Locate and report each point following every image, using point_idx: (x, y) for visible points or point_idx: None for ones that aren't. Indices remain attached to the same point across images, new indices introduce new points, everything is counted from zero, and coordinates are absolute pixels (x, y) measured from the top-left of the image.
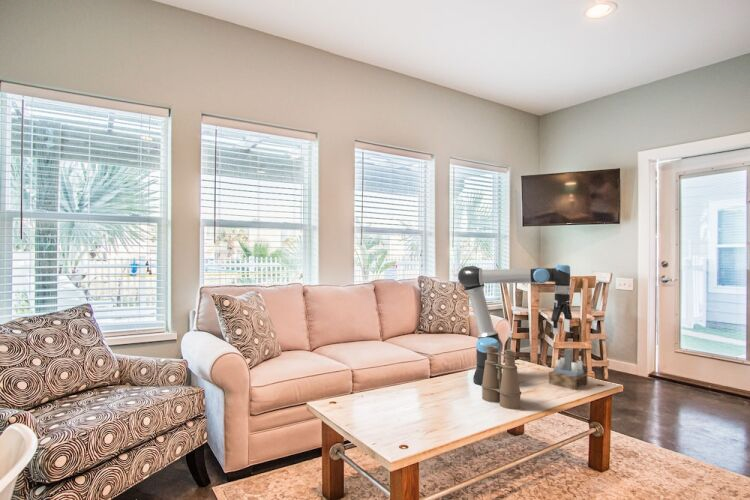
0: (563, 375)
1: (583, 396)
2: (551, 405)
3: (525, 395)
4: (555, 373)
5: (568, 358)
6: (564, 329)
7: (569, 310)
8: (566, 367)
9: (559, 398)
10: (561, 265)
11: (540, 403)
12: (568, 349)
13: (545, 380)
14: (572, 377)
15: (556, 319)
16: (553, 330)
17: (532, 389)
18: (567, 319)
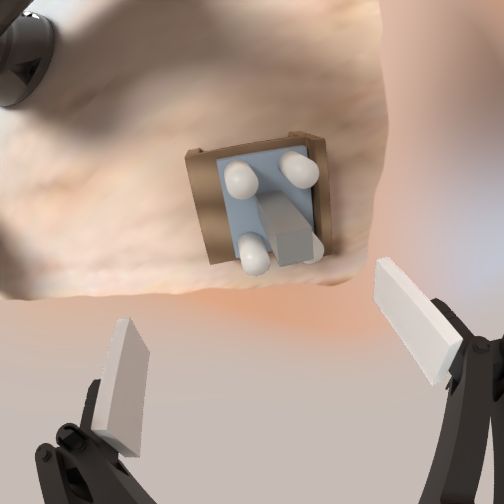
0: (201, 220)
1: (175, 292)
2: (47, 294)
3: (28, 211)
4: (197, 182)
5: (267, 233)
6: (384, 271)
7: (495, 462)
8: (258, 205)
9: (96, 272)
10: None
11: (31, 273)
12: (289, 249)
13: (215, 113)
14: (209, 254)
15: (85, 482)
16: (112, 346)
17: (79, 175)
18: (450, 363)
